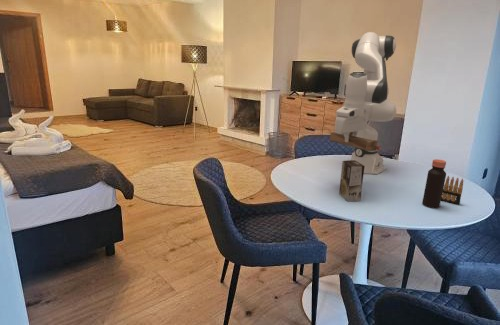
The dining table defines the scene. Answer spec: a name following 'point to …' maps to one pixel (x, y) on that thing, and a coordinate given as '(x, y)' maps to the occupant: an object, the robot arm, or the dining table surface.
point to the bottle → (434, 184)
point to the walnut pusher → (354, 141)
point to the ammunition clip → (448, 191)
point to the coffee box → (351, 180)
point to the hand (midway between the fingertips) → (349, 141)
